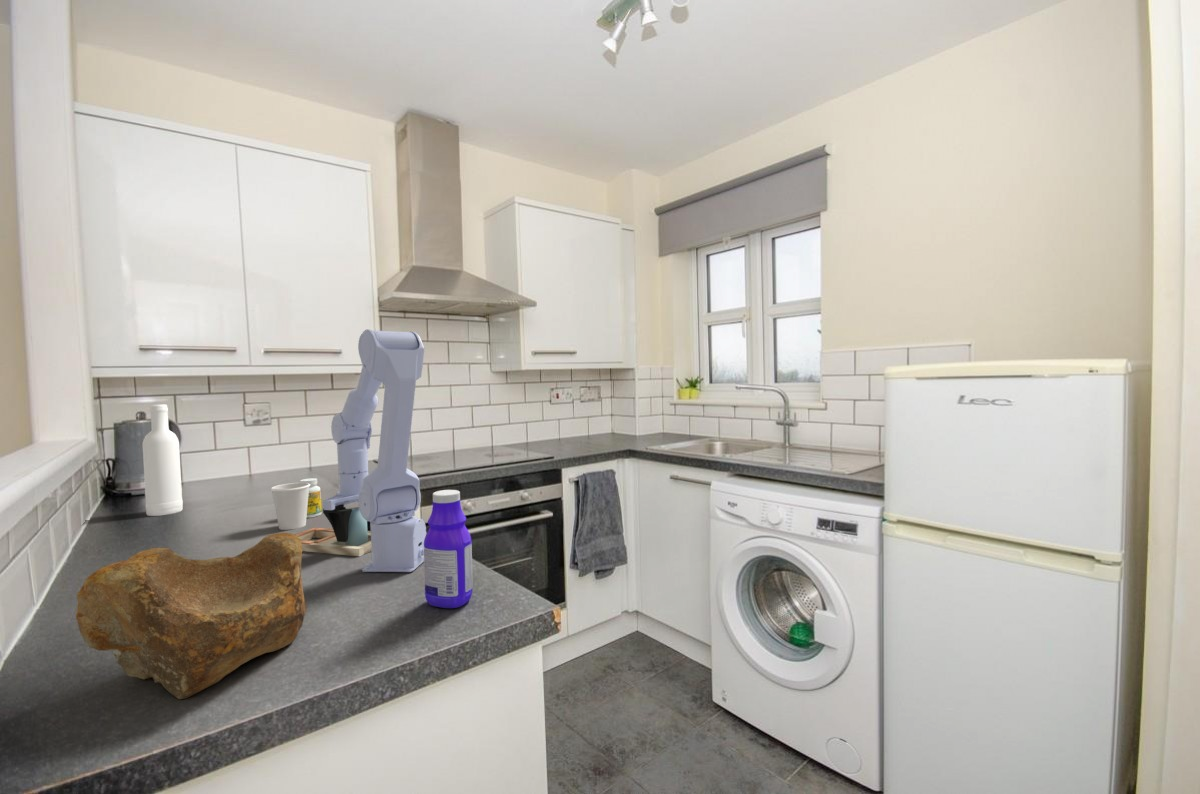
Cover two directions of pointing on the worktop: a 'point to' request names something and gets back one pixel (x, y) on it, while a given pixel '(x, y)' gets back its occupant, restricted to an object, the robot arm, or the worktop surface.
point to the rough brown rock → (194, 611)
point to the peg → (357, 529)
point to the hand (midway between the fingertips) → (356, 535)
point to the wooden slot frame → (330, 543)
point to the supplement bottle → (313, 498)
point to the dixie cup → (291, 504)
